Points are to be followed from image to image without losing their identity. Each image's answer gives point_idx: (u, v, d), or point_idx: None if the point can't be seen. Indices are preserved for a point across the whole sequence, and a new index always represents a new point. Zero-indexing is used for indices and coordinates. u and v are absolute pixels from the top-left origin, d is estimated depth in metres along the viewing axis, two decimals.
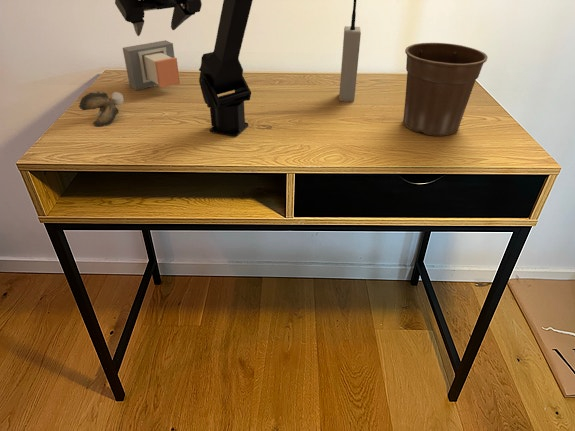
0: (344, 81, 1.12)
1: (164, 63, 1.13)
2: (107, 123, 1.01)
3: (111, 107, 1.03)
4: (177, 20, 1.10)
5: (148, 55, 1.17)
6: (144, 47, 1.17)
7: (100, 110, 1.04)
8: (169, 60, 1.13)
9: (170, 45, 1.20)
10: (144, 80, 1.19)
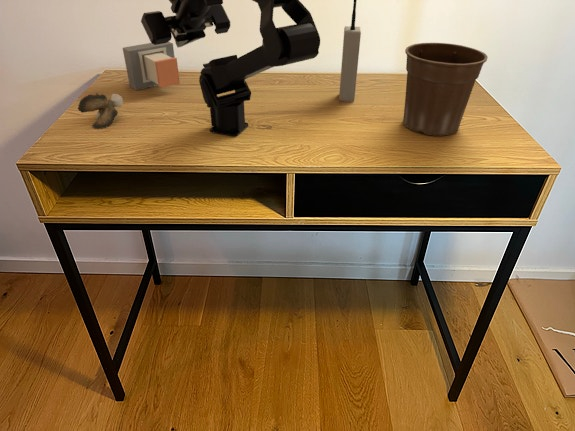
0: (344, 81, 1.12)
1: (164, 63, 1.13)
2: (106, 125, 1.01)
3: (110, 109, 1.03)
4: None
5: (148, 55, 1.17)
6: (144, 47, 1.17)
7: (99, 112, 1.03)
8: (169, 60, 1.13)
9: (170, 45, 1.20)
10: (144, 80, 1.19)
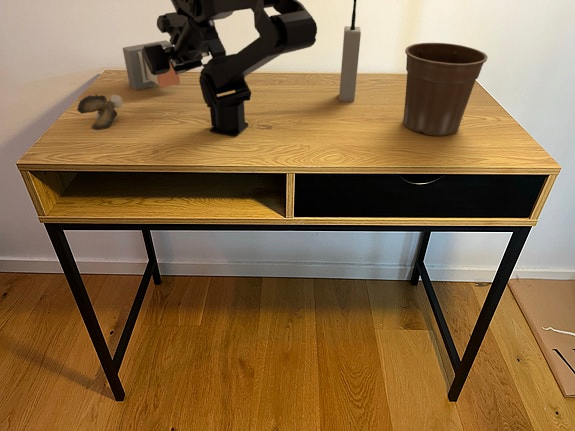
0: (344, 82, 1.12)
1: None
2: (106, 126, 1.00)
3: (110, 110, 1.02)
4: None
5: None
6: None
7: (98, 113, 1.03)
8: None
9: (170, 45, 1.20)
10: (144, 80, 1.19)
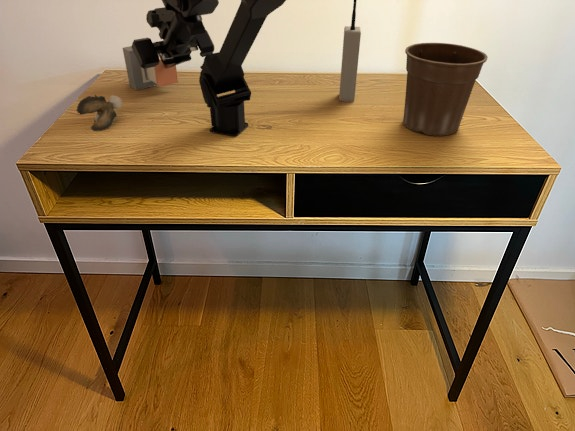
0: (344, 81, 1.12)
1: None
2: (105, 127, 1.00)
3: (109, 111, 1.02)
4: None
5: None
6: None
7: (98, 114, 1.02)
8: None
9: None
10: (144, 80, 1.19)
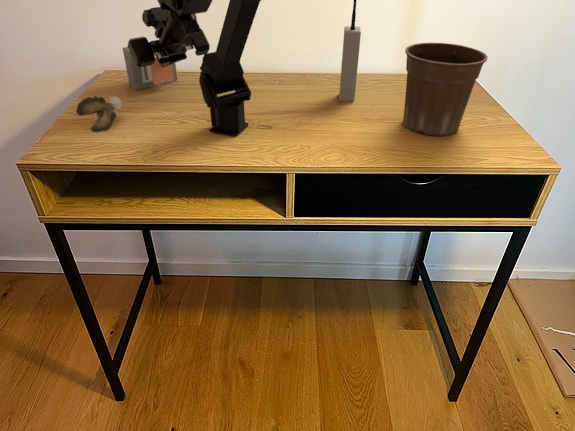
0: (344, 81, 1.12)
1: None
2: (105, 128, 0.99)
3: (109, 112, 1.01)
4: None
5: None
6: None
7: (97, 115, 1.02)
8: None
9: None
10: (144, 80, 1.19)
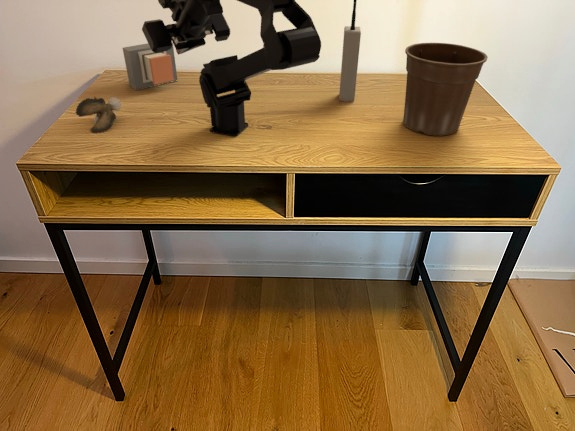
0: (344, 81, 1.12)
1: (158, 60, 1.15)
2: (105, 129, 0.99)
3: (108, 113, 1.01)
4: None
5: None
6: (144, 47, 1.17)
7: (97, 116, 1.01)
8: (163, 57, 1.15)
9: None
10: (144, 80, 1.19)
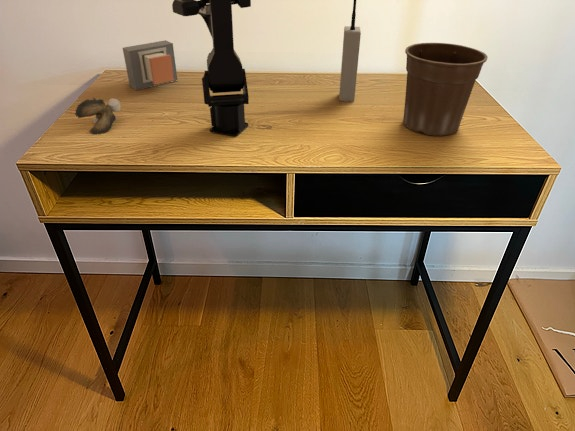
0: (344, 82, 1.12)
1: (158, 60, 1.15)
2: (104, 131, 0.98)
3: (108, 114, 1.00)
4: None
5: None
6: (144, 47, 1.17)
7: (97, 117, 1.01)
8: (163, 57, 1.15)
9: (170, 45, 1.20)
10: (144, 80, 1.19)
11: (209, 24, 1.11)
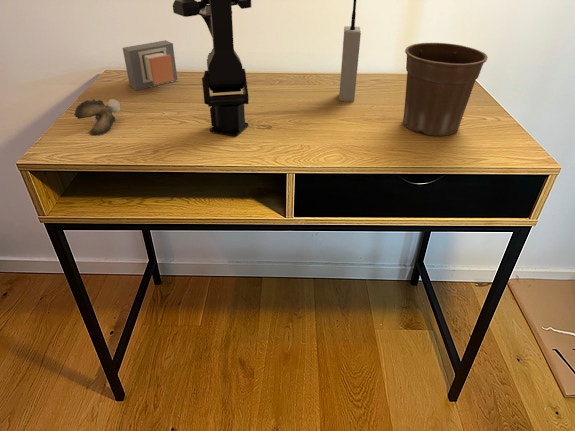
0: (344, 81, 1.12)
1: (158, 60, 1.15)
2: (104, 132, 0.98)
3: (107, 115, 1.00)
4: None
5: None
6: (144, 47, 1.17)
7: (96, 118, 1.00)
8: (163, 57, 1.15)
9: (170, 45, 1.20)
10: (144, 80, 1.19)
11: (210, 25, 1.12)
